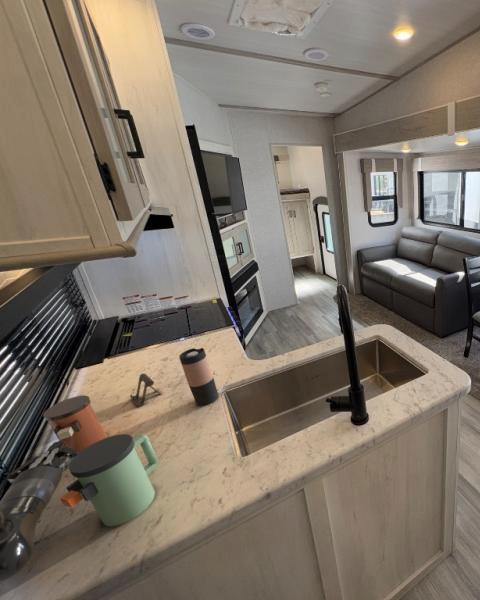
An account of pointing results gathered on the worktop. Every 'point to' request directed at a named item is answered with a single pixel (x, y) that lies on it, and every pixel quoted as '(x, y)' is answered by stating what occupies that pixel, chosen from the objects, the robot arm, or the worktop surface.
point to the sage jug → (115, 477)
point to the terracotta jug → (76, 422)
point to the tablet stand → (148, 383)
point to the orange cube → (71, 498)
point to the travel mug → (199, 376)
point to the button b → (65, 433)
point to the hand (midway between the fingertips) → (59, 443)
